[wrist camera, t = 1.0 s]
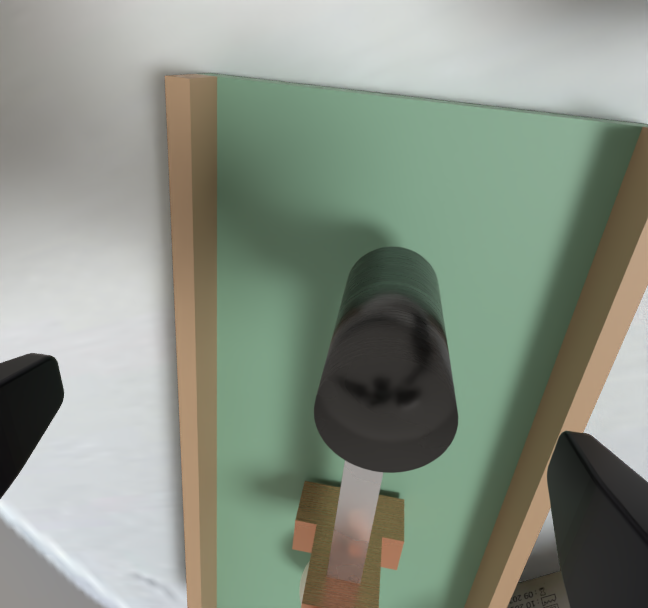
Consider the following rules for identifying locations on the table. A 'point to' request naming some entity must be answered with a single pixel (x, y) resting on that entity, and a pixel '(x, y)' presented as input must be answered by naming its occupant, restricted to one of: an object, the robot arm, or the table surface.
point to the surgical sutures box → (540, 593)
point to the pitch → (325, 299)
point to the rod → (375, 423)
